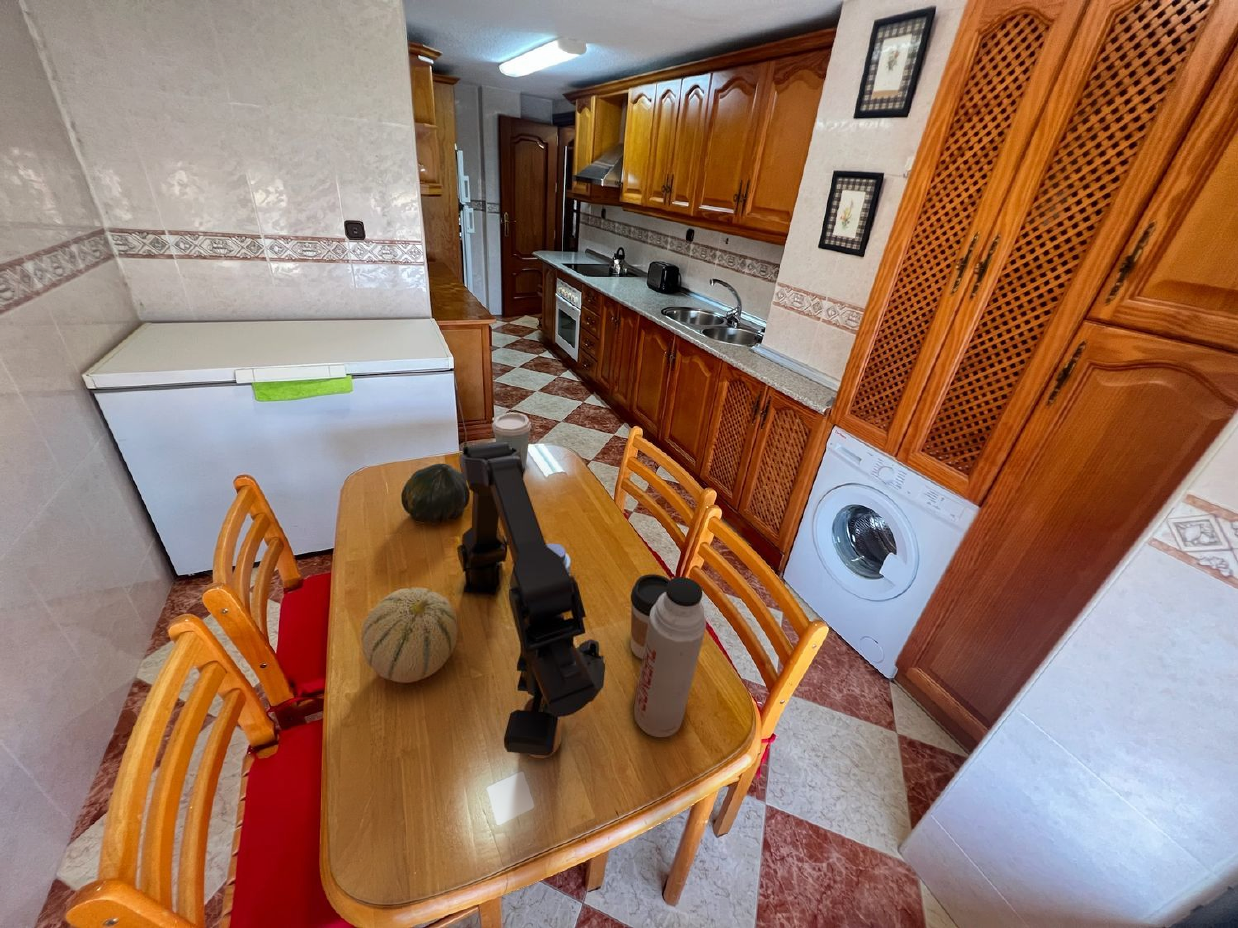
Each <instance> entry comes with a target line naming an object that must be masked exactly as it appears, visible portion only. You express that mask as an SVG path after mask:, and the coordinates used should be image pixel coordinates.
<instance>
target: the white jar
mask: <svg viewBox="0 0 1238 928" xmlns="http://www.w3.org/2000/svg"><path fill="white" fill-rule="evenodd" d="M546 545H547V547H549V548H550V549H551V550H553V551H554V552H555V553H557V554H558V555H559V556H560V557H561V558H562V560H563V563H564V565H565V567H566V570H567V572H568V573H571V562H572V561H571V557H570V556H569V554H568V553H566V548H565V547H564V546H563V545H561V544H560V543H555V542H554V543H553V542H552V543H546Z"/></svg>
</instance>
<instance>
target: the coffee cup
mask: <svg viewBox="0 0 1238 928" xmlns="http://www.w3.org/2000/svg"><path fill="white" fill-rule="evenodd" d="M670 580H671V579H669V578H667V577H665V576H663V575H660V574H656V573H650V574H644V575H642V576H640V577H639V578H638V579H637V580H636V582H635V583H634V585H633V587H632V589H631V593H630V602H631V606H630V607H631V608H630V609H631V611H630V633H631V634H630V649H631V651H632V653H633V654H634V655H635V656H636V657H637V658H639V659H641V660H643V653H644V647H645V641H646V635H647V629H648V623H649V617H650V612H651V609H652V607H653V606H654V605H655V604H656V602H657V600H658V599H659V597H660V596H661V595H662V594H663V593H665V592H666V587H667V584H668V582H669V581H670Z"/></svg>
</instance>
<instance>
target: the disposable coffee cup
mask: <svg viewBox="0 0 1238 928" xmlns="http://www.w3.org/2000/svg"><path fill="white" fill-rule="evenodd" d="M491 429H492V431H493V436H494V439H495V442H498V441H507V442H508V445H509V447H513V446H514V447H516V448H518V449H520V451H521V459H522V466H523V470H524V469H525V467H526V464H527V459H528V451H529V443H530V437H531V436H530V435H531V429H532V423H531V421H530V419H529V418H528V416H527V415H525V414H524V413H520V412H513V411H512V412H506V413H502V414H500V415H499V416H497V417H495V419H494V421H493V422H492V423H491Z"/></svg>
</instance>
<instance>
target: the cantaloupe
mask: <svg viewBox="0 0 1238 928" xmlns="http://www.w3.org/2000/svg"><path fill="white" fill-rule="evenodd" d="M458 627H459V626H458V617H457V614H456V612H455V611H454V609H453V607H452V606H451V603H450V602H449V600H448V599H447V598H446V597H445V596H443V595H441V594H440V593H438V592H435V591H433V590H430V589H428V588H425V587H417V586H416V587H414V586H413V587H406V588H400V589H398V590H395V591H393V592H391V593H390V594H387V595H386V596H385V597H383V599H381V600H380V601H379V602H378V604H377V605H376V606H375V607H374V608H372V609H371V610H370V611H369V613H368V615H367V617H366V618H365V620H364V622H363V624H362V628H361V634H360V635H361V636H360V639H361V646H362V648H361V649H362V655H363V656H364V659H365V661H366V664H367V665H368V666H369V667H370V668H371V669H372V670H373V671H374V672H375V673H376V674H377V675H378V676H379V677H381V678H384V679H386V680H390V681H393V682H397V683H413V682H418V681H420V680H423V679H425V678H428V677H430V676H431V675H433V674H435V673H436V672H437V671H438V670H440V669H441V668H442V667H443V666H444V664H445V663H446V662H447V660H448V659H450V656H451V655H452V654H453V651H454V649H455V647H456V644H457V640H458V629H459V628H458Z"/></svg>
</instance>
